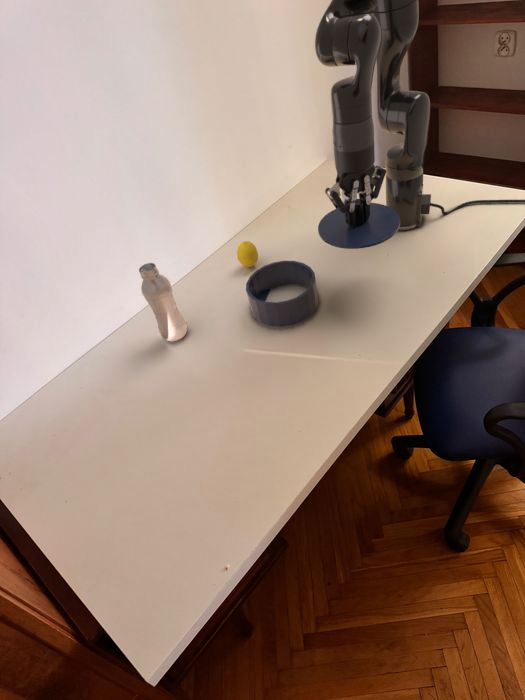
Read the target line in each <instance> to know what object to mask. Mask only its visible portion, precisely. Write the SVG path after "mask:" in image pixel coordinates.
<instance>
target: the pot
mask: <svg viewBox="0 0 525 700" xmlns="http://www.w3.org/2000/svg"><path fill="white" fill-rule="evenodd" d="M287 285H294V286H295V285H296V286H300V287H301V286H302V287H304V288H306V290H305V291H304V292H302V293H300V294H299V295H298V296H295V297H293V298H290V299H288V300H283V301H282V300H281V301H277V302H276V301H274V302H273V301H267V299H268V297H269V295H270V292H271V290H272V289H274V288H276V287H280V286H287ZM245 291H246V297H247V300H248V303H249V306H250V310H251V314H252V316H253V318H254V319H255V320H256V321H258V322H259V323H260V324H262V325H266V326H269V327H277V328H282V327H289V326H293V325H296V324H299V323H302V322H304V321H305V320H307V319H308V318H309V317H311V316H312V315H313V314H314V313H315V311H316V310H317V308H318V305H319V302H320V301H319V295H318V288H317V279H316V274H315V271H314V270H313V268H312V267H311V266H309V265H308V264H306V263H304V262H301V261H297V260H281V261H274V262H270V263H268V264H266V265H263V266H261V267H260V268H258V269H256V270H255V271H254V272H253V273H252V274H251V275H250V276H249V277H248V279H247V281H246V284H245Z"/></svg>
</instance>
